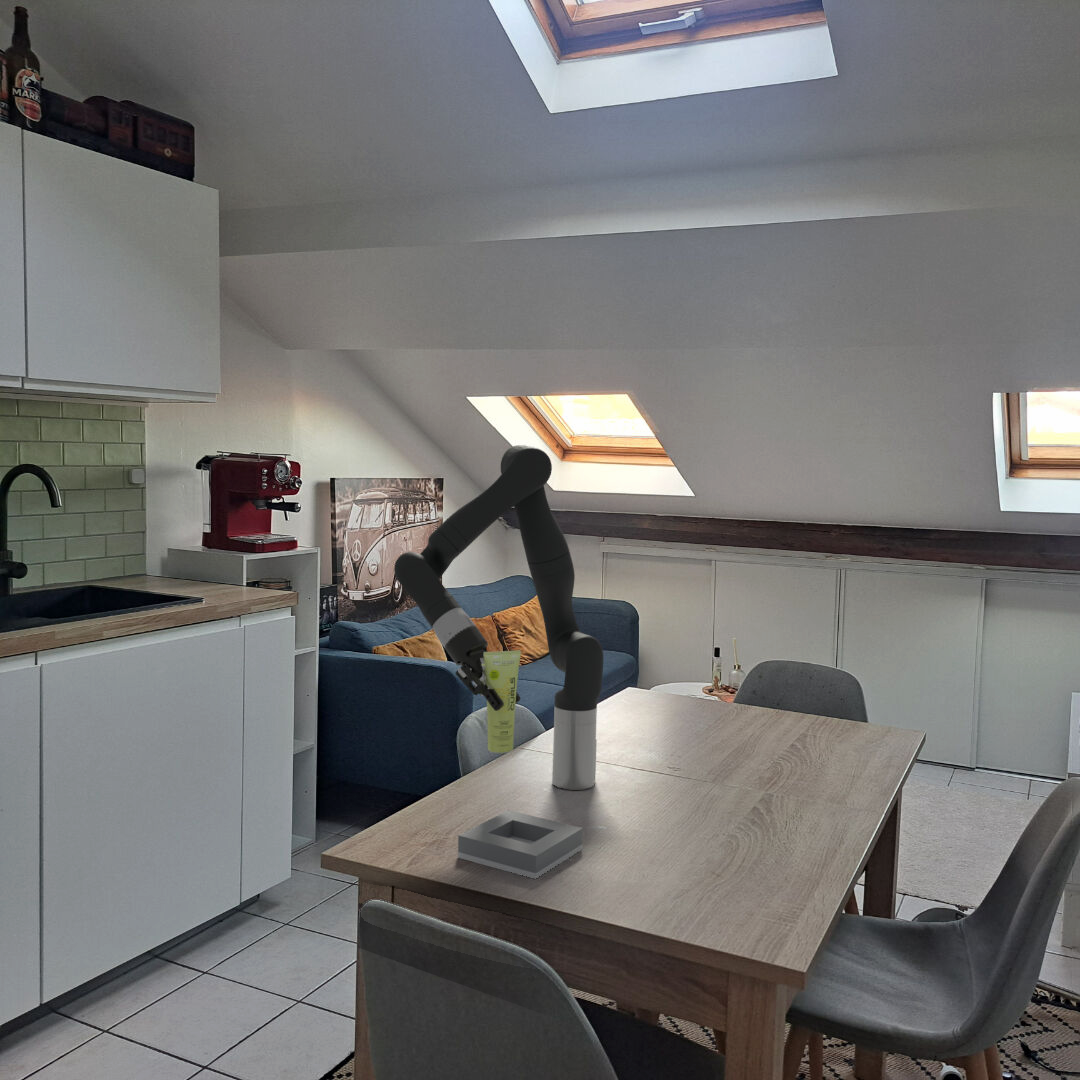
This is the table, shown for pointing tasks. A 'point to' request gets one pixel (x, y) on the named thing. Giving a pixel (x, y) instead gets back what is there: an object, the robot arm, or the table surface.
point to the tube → (502, 698)
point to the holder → (520, 843)
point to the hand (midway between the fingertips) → (508, 704)
